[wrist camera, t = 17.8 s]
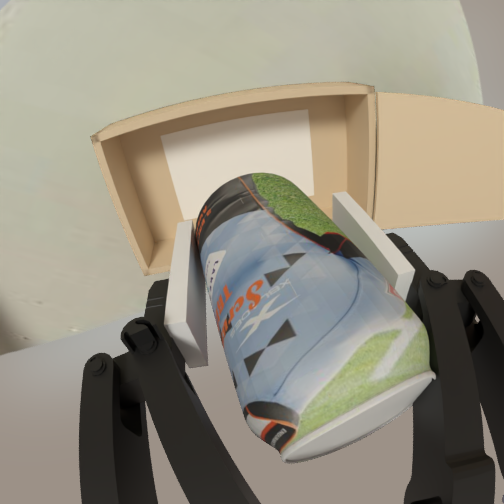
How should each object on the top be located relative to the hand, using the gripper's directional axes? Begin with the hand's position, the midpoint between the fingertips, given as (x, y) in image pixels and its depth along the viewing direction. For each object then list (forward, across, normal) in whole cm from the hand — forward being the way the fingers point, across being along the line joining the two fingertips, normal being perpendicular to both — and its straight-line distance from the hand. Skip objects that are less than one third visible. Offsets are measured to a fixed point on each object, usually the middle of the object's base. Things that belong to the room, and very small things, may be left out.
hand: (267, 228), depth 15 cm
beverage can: (+1, 0, 0) cm, 1 cm away
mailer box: (+11, 0, 0) cm, 11 cm away
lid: (+4, +19, 0) cm, 20 cm away
